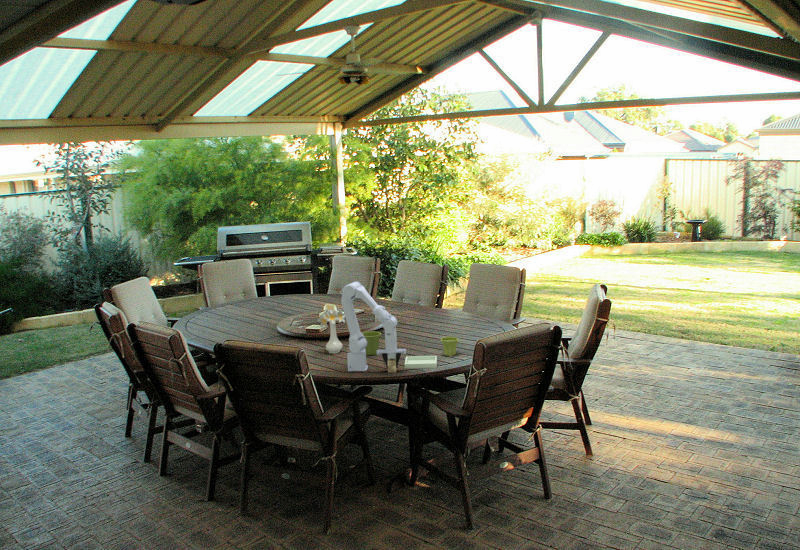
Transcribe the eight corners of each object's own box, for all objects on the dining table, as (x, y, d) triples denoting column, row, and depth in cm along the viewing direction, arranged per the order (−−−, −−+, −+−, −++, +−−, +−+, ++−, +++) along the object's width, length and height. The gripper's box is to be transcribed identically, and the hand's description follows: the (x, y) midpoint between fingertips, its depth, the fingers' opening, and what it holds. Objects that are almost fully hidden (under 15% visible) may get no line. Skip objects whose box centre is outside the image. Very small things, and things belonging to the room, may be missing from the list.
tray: (404, 369, 313) (404, 364, 313) (406, 361, 327) (406, 356, 327) (436, 368, 312) (436, 363, 312) (436, 360, 326) (436, 355, 326)
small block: (388, 372, 309) (387, 360, 308) (388, 370, 313) (388, 358, 312) (396, 372, 309) (395, 360, 308) (396, 369, 313) (396, 358, 312)
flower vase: (316, 356, 343) (313, 311, 340) (331, 347, 360) (328, 305, 357) (337, 357, 339) (335, 312, 335) (352, 348, 356) (349, 305, 352)
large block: (384, 363, 325) (384, 352, 324) (385, 360, 331) (385, 349, 330) (396, 363, 324) (395, 351, 324) (397, 359, 330) (396, 348, 330)
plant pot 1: (379, 356, 337) (378, 336, 336) (358, 356, 340) (356, 336, 338) (384, 350, 349) (383, 331, 347) (363, 350, 351) (362, 331, 349)
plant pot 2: (456, 351, 341) (455, 336, 339) (460, 356, 332) (460, 340, 330) (439, 353, 339) (439, 337, 338) (443, 357, 330) (442, 341, 329)
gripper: (375, 343, 305) (376, 370, 307) (405, 343, 304) (406, 370, 306) (376, 340, 312) (378, 366, 314) (406, 339, 311) (407, 365, 313)
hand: (392, 368), depth 310 cm, fingers closed on small block, 4 cm apart
